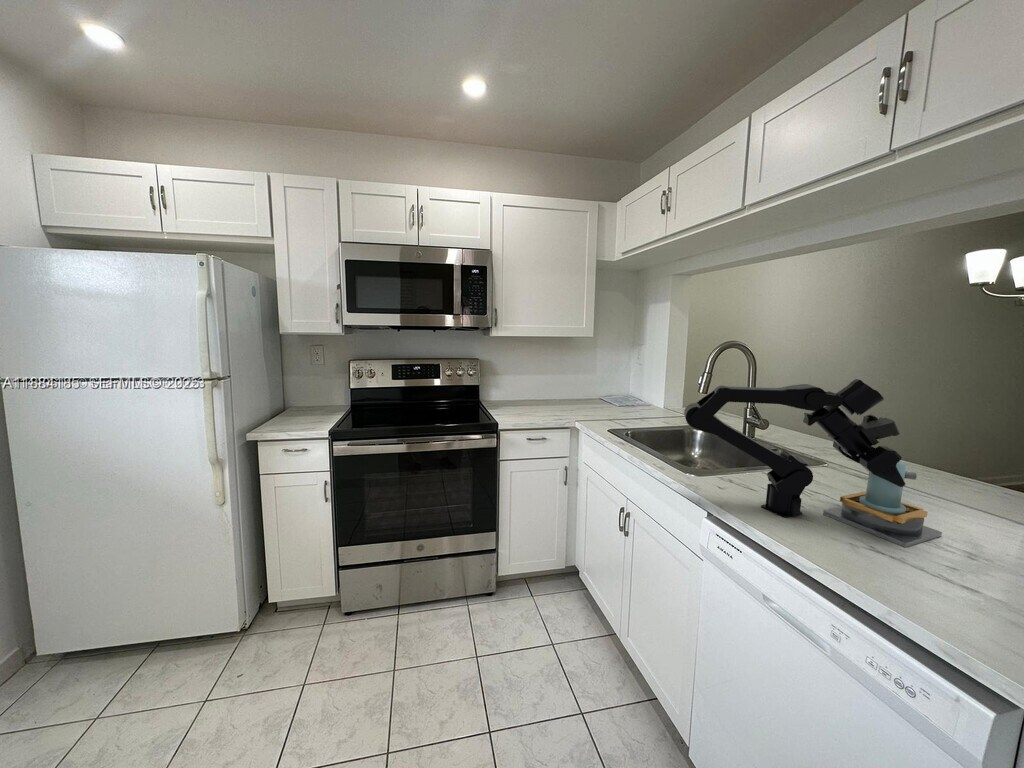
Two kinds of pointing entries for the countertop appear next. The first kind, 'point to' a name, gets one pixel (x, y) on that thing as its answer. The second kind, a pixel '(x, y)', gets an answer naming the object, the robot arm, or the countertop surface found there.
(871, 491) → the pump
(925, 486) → the countertop surface
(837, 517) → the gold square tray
